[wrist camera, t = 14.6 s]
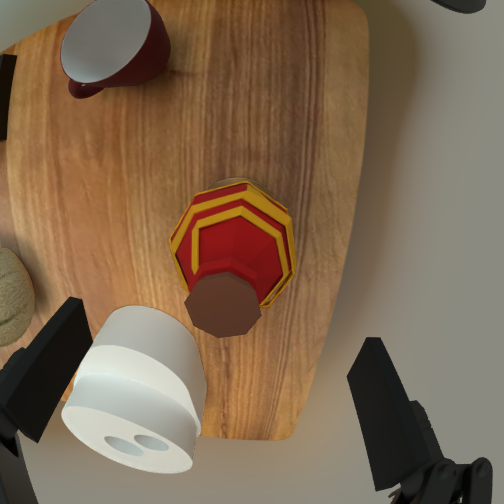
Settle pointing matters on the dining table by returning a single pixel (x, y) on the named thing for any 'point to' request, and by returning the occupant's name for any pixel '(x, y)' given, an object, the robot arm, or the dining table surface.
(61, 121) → the dining table surface
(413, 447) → the robot arm
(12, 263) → the cantaloupe
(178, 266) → the potion bottle
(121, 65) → the mug
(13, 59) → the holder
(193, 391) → the white stepped block
